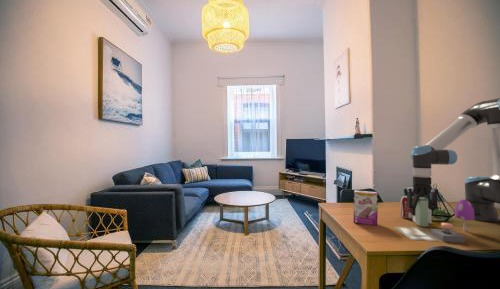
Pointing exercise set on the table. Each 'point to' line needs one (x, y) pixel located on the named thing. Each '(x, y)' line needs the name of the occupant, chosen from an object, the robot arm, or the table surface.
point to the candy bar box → (365, 207)
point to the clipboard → (418, 234)
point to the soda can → (405, 208)
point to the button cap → (447, 227)
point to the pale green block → (422, 211)
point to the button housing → (447, 236)
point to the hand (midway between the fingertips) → (422, 222)
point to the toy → (464, 212)
